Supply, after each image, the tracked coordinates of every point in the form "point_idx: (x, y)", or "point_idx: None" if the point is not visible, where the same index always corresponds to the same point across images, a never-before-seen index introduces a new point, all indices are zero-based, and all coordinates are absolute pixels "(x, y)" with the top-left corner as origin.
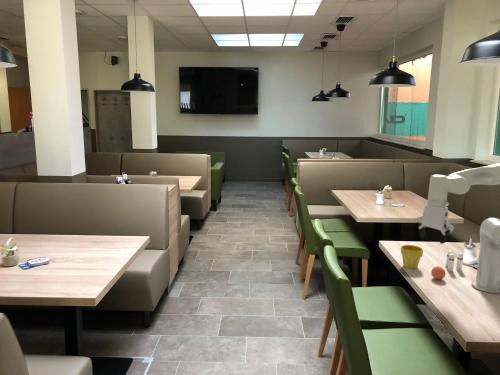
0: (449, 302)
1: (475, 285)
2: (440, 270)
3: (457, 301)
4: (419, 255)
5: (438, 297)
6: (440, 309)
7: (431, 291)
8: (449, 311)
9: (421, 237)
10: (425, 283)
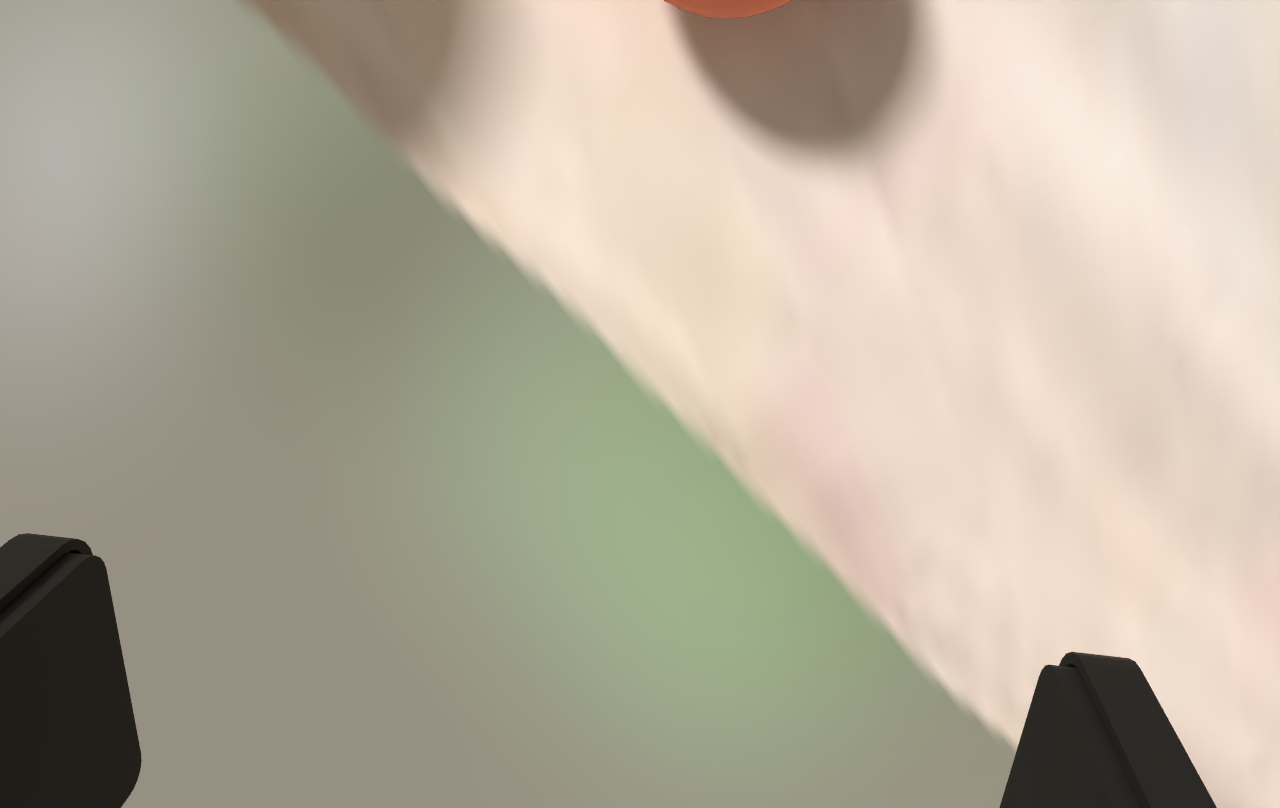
0: (1141, 598)
1: None
2: None
3: (1226, 509)
4: None
5: (986, 557)
6: None
7: (851, 450)
8: None
9: (133, 753)
10: (672, 245)
